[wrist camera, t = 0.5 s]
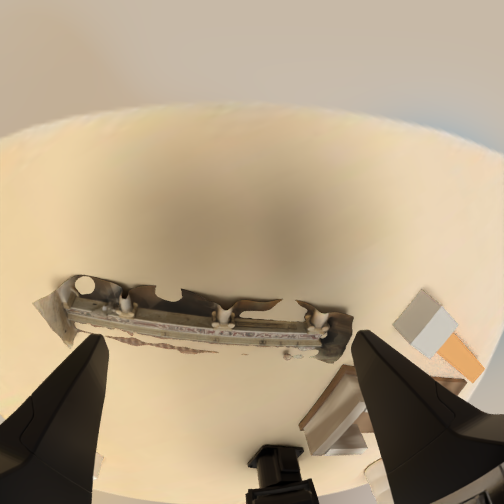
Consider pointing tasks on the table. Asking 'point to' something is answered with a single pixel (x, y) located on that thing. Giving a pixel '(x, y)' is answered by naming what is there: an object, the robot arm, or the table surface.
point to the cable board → (346, 415)
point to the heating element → (190, 320)
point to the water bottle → (379, 482)
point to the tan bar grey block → (436, 334)
